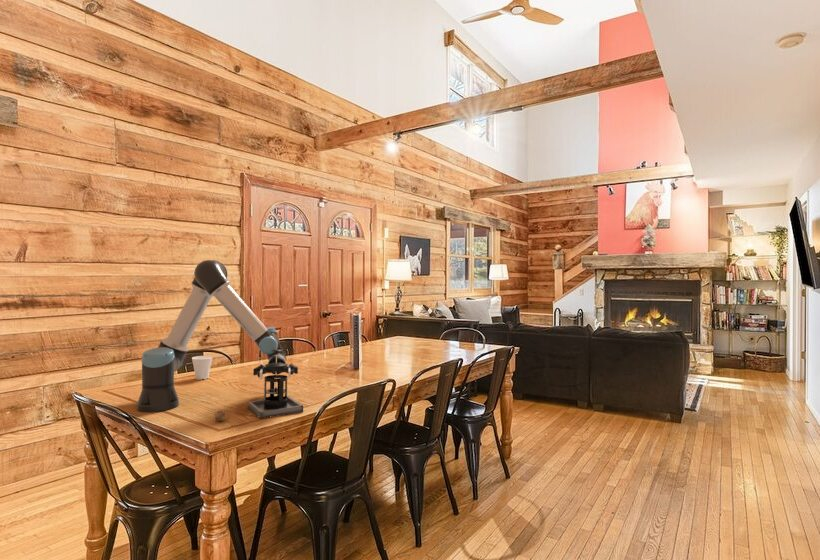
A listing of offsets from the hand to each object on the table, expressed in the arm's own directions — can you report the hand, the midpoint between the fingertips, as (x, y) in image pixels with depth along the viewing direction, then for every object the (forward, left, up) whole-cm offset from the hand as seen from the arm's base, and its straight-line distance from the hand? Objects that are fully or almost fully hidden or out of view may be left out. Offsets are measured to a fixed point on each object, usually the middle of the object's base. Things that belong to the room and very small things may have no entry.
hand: (275, 375), depth 189 cm
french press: (+2, +4, -14) cm, 15 cm away
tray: (+1, +4, -15) cm, 16 cm away
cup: (-13, +78, -15) cm, 81 cm away
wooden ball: (-21, 0, -15) cm, 25 cm away
